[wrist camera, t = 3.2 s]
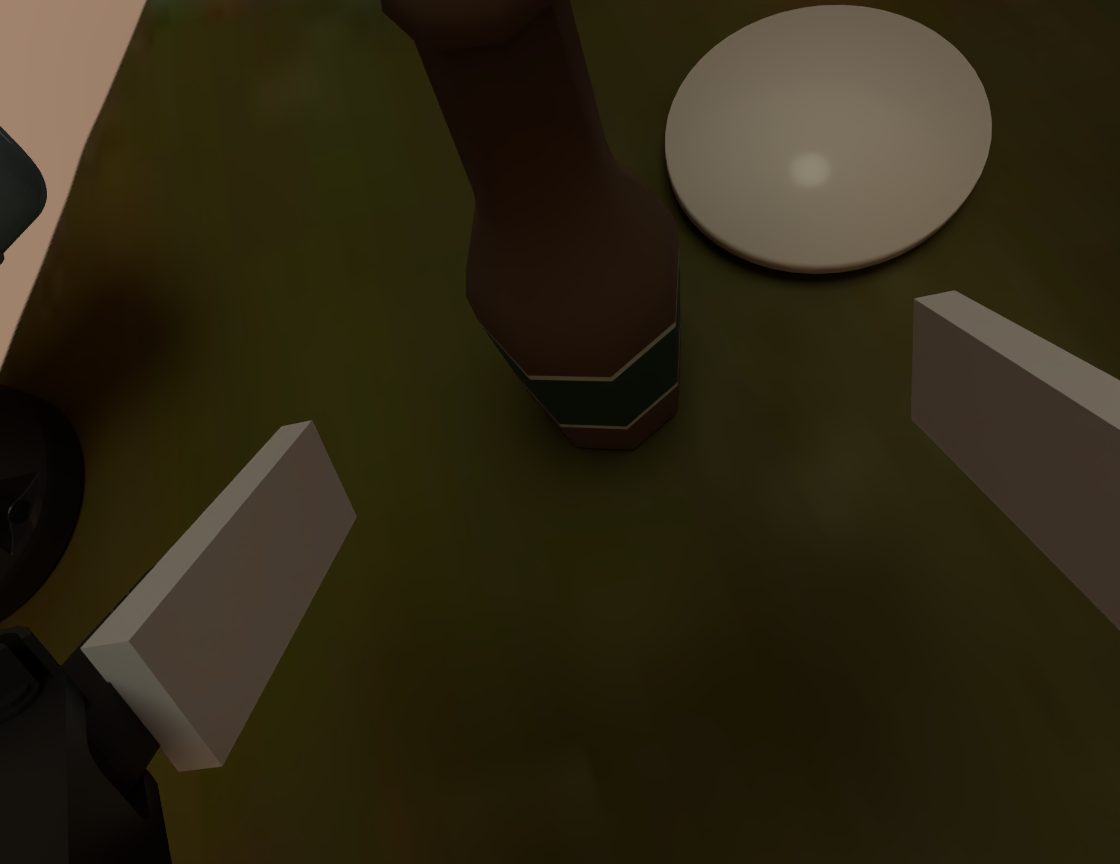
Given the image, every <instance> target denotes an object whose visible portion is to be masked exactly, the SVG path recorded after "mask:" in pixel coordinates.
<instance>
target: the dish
mask: <svg viewBox="0 0 1120 864" xmlns="http://www.w3.org/2000/svg"><path fill="white" fill-rule="evenodd" d="M991 128H992V120H991V113H990V107H989V102H988V99H987V96H986V93H985V90H984V87H983V85H982V83H981V81H980V79H979V77H978V76H977V74H976V72H975V70H974V69H973V68H972V66H971V65H970V64H969V62H968V61H967V60H966V58H965V57H964V56H963V55H962V54H961V53H960V52H959V51H958V50H957V49H956V48H955V47H954V46H953V45H952V44H951V43H949V42H948V41H947V40H945V39H944V38H943V37H941V36H940V35H939V34H937V33H936V32H934V31H933V30H931V29H929V28H927V27H925V26H924V25H922V24H920V23H918V22H916V21H913V20H911V19H908V18H906V17H903V16H901V15H898V14H894V13H891V12H887V11H884V10H879V9H873V8H868V7H862V6H848V5H824V6H814V7H806V8H800V9H795V10H791V11H786V12H782V13H779V14H776V15H773V16H770V17H767V18H764V19H761V20H759V21H757V22H755V23H752V24H750V25H748V26H746V27H744V28H742V29H740V30H739V31H737V32H735V33H733V34H732V35H730V36H729V37H727V38H726V39H724V40H723V41H722V42H720V43H719V44H717V45H716V46H715V47H714V48H712V49H711V50H710V51H709V52H708V53H707V54H706V55H705V56H704V57H703V58H701V60H700V61H699V62H698V63H697V64H696V65H695V66H694V68H693V69H692V70H691V71H690V72H689V74H688V75H687V77H686V78H685V80H684V81H683V83H682V84H681V86H680V88H679V90H678V92H677V94H676V96H675V98H674V100H673V103H672V106H671V109H670V112H669V115H668V120H667V126H666V132H665V152H666V165H667V172H668V177H669V181H670V184H671V187H672V190H673V193H674V195H675V197H676V199H677V201H678V203H679V205H680V207H681V208H682V209H683V211H684V212H685V214H686V215H687V217H688V218H689V219H690V221H691V222H692V223H693V224H694V225H695V226H696V227H697V228H698V229H699V230H700V231H701V232H702V233H703V234H704V235H705V236H706V237H708V238H709V239H710V240H712V241H713V242H714V243H715V244H717V245H718V246H720V247H721V248H723V249H725V250H726V251H728V252H730V253H731V254H733V255H735V256H738V257H740V258H742V259H744V260H747V261H749V262H751V263H754V264H758V265H761V266H764V267H767V268H771V269H776V270H781V271H787V272H792V273H807V274H825V273H840V272H846V271H852V270H858V269H862V268H866V267H869V266H873V265H877V264H880V263H883V262H885V261H888V260H890V259H893V258H895V257H897V256H900V255H902V254H904V253H905V252H907V251H909V250H911V249H913V248H915V247H916V246H918V245H920V244H921V243H923V242H924V241H925V240H927V239H928V238H929V237H931V236H932V235H934V234H935V233H936V232H937V231H938V230H939V229H940V228H942V227H943V226H944V225H945V224H946V223H947V222H948V221H949V220H950V219H951V218H952V217H953V215H954V214H955V213H956V212H957V210H958V209H959V208H960V206H961V205H962V204H963V203H964V201H965V200H966V198H967V197H968V195H969V194H970V192H971V191H972V189H973V187H974V185H975V184H976V182H977V180H978V178H979V177H980V175H981V173H982V170H983V168H984V165H985V162H986V160H987V157H988V153H989V147H990V142H991Z"/></svg>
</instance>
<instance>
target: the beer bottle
mask: <svg viewBox="0 0 1120 864" xmlns="http://www.w3.org/2000/svg"><path fill="white" fill-rule="evenodd" d="M381 5H382V10H383V12H384V13H385V14H386V15H387V16H388V17H389V18H390V19H391V20H392V21H394V22H395V23H396V24H397V25H398V26H399V27H400V28H401V29H402V30H403V31H404V32H406V33H407V34H408V35H409V36H410V37H411V38H412V39H413V40H414V42H415V44H416V47H417V49H418V52H419V54H420V57H421V59H422V62H423V64H424V67H425V70H426V72H427V75H428V77H429V80H430V82H431V85H432V87H433V90H434V92H435V95H436V97H437V100H438V102H439V105H440V108H441V110H442V113H443V115H444V118H445V120H446V123H447V125H448V128H449V130H450V133H451V135H452V138H453V141H454V143H455V146H456V148H457V151H458V153H459V156H460V158H461V161H462V163H463V166H464V168H465V171H466V174H467V176H468V179H469V181H470V184H471V186H472V189H473V191H474V196H475V200H476V205H475V212H474V219H473V226H472V232H471V239H470V246H469V253H468V260H467V267H466V297H467V299H468V301H469V303H470V305H471V307H472V309H473V311H474V313H475V315H476V317H477V319H478V321H479V322H480V324H481V325H482V327H483V328H484V329H485V331H486V332H487V334H488V335H489V337H490V338H491V339H492V341H493V342H494V344H495V345H496V347H497V348H498V349H499V351H500V352H501V354H502V355H503V357H504V358H505V359H506V361H507V362H508V364H509V365H510V367H511V368H512V369H513V371H514V372H515V374H516V375H517V377H518V378H519V379H520V381H521V382H522V384H523V385H524V387H525V388H526V389H527V391H528V392H529V394H530V395H531V396H532V398H533V399H534V400H535V401H536V402H537V404H538V405H539V406H540V407H541V408H542V409H543V410H544V411H545V413H546V414H547V415H548V416H549V417H550V418H551V419H552V420H553V422H554V423H555V424H556V425H557V426H558V427H559V428H560V429H561V431H562V432H563V433H564V434H565V435H566V436H567V437H568V438H569V440H570V441H571V442H572V443H573V444H574V445H575V446H576V447H580V448H603V449H626V450H634V449H635V448H636V447H637V446H639V445H640V444H641V443H642V442H643V441H644V440H645V439H647V438H648V437H649V436H650V435H651V434H652V433H653V432H655V431H656V430H657V429H658V428H659V427H660V426H661V425H663V424H664V423H665V422H666V421H667V420H668V419H670V418H671V417H672V416H673V415H674V414H675V413H676V412H677V407H678V395H679V373H680V351H681V327H680V268H679V242H678V236H677V229H676V223H675V217H674V216H673V215H672V214H671V212H670V211H669V210H668V208H667V207H666V206H665V204H664V203H663V202H662V200H661V199H660V198H659V197H658V195H657V194H656V193H655V192H653V191H652V190H651V189H650V188H649V187H648V186H647V185H645V184H644V183H643V182H642V181H641V180H640V179H638V178H637V177H636V176H635V175H634V174H633V173H631V172H630V171H629V170H628V169H627V168H626V167H625V166H623V165H622V164H621V163H620V162H619V161H618V160H616V159H615V158H614V157H613V155H612V153H611V151H610V148H609V146H608V144H607V142H606V139H605V136H604V132H603V128H602V124H601V120H600V116H599V112H598V109H597V105H596V101H595V97H594V93H593V89H592V85H591V81H590V78H589V74H588V70H587V66H586V62H585V58H584V54H583V51H582V47H581V43H580V39H579V35H578V31H577V27H576V23H575V20H574V16H573V12H572V8H571V4H570V0H381Z"/></svg>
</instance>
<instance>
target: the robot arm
mask: <svg viewBox="0 0 1120 864" xmlns="http://www.w3.org/2000/svg"><path fill="white" fill-rule="evenodd" d="M46 199H47V189H46V185H45V181H44V179H43V177H42V174H41V172H40V170H39V169H38V168H37V166H36V164H35V163H34V162H33V161H32V159H31V158H30V157H29V156H28V155H27V154H26V152H25V151H24V150H23V149H22V148H21V147H20V146H19V145H18V144H17V143H16V142H15V141H14V140H13V139H12V138H11V137H10V136H9V135H8V134H7V132H6V131H5V130H4V129H3V128H1V127H0V264H2V262H3V260H4V252H5V251H6V250H7V249H8V248H9V247H10V246H11V245H12V244H13V242H14V241H15V240H16V239H17V238H18V237H19V236H20V235H21V234H22V233H23V232H24V231H25V230H26V229H27V228H28V227H29V226H30V225H31V224H32V222H33V221H34V220H35V219H36V218H37V217H38V216H39V215H40V213H41V212H42V210H43V208H44V206H45V203H46ZM911 419H912V420H913V421H914V422H915V423H916V424H917V425H918V426H919V427H920V428H921V429H922V430H923V431H924V432H925V433H926V434H927V435H928V436H929V437H930V438H931V439H932V440H933V441H934V442H935V443H936V444H937V445H938V446H939V447H940V448H941V449H942V451H943V452H944V453H945V454H946V455H947V456H948V457H949V458H950V459H951V460H952V461H953V462H954V463H955V464H956V465H957V466H958V467H959V468H960V469H961V470H962V471H963V472H964V473H965V474H966V475H967V476H968V477H969V478H970V479H971V480H972V481H973V482H974V483H975V484H976V485H977V486H978V487H979V488H980V489H981V490H982V491H983V492H984V493H985V494H986V495H987V496H988V497H989V498H990V499H991V500H992V501H993V502H994V503H995V504H996V505H997V506H998V507H999V508H1000V509H1001V510H1002V511H1003V512H1004V513H1005V514H1006V515H1007V516H1008V517H1009V518H1010V519H1011V521H1012V522H1013V523H1014V524H1015V525H1016V526H1017V527H1018V528H1019V529H1020V530H1021V531H1022V532H1023V533H1024V534H1025V535H1026V536H1027V537H1028V538H1029V539H1030V540H1031V541H1032V542H1033V543H1034V544H1035V545H1036V546H1037V547H1038V548H1039V549H1040V550H1041V551H1042V552H1043V553H1044V554H1045V555H1046V556H1047V557H1048V558H1049V559H1050V560H1051V561H1052V562H1053V563H1054V564H1055V565H1056V566H1057V567H1058V568H1059V569H1060V570H1061V571H1062V572H1063V573H1064V574H1065V575H1066V576H1067V577H1068V578H1069V579H1070V580H1071V581H1072V582H1073V583H1074V584H1075V585H1076V586H1077V587H1078V588H1079V589H1080V591H1081V592H1082V593H1083V594H1084V595H1085V596H1086V597H1087V598H1088V599H1089V600H1090V601H1091V602H1092V603H1093V604H1094V605H1095V606H1096V607H1097V608H1098V609H1099V610H1100V611H1101V612H1102V613H1103V614H1104V615H1105V616H1106V617H1107V618H1108V619H1109V620H1110V621H1111V622H1112V623H1113V624H1114V625H1115V626H1116V627H1117V628H1118V629H1119V630H1120V380H1118V379H1116V378H1114V377H1112V376H1110V375H1109V374H1107V373H1105V372H1103V371H1101V370H1099V369H1098V368H1096V367H1094V366H1092V365H1090V364H1088V363H1087V362H1085V361H1083V360H1081V359H1079V358H1077V357H1076V356H1074V355H1072V354H1070V353H1068V352H1066V351H1065V350H1063V349H1061V348H1059V347H1057V346H1055V345H1054V344H1052V343H1050V342H1048V341H1046V340H1044V339H1043V338H1041V337H1039V336H1037V335H1035V334H1033V333H1032V332H1030V331H1028V330H1026V329H1024V328H1022V327H1021V326H1019V325H1017V324H1015V323H1013V322H1011V321H1010V320H1008V319H1006V318H1004V317H1002V316H1000V315H999V314H997V313H995V312H993V311H991V310H989V309H988V308H986V307H984V306H982V305H980V304H979V303H977V302H975V301H973V300H971V299H969V298H968V297H966V296H964V295H962V294H960V293H958V292H957V291H950V292H945V293H940V294H935V295H930V296H925V297H920V298H915V299H914V324H913V363H912V402H911ZM82 480H83V469H82V459H81V453H80V449H79V445H78V442H77V439H76V436H75V434H74V431H73V429H72V428H71V426H70V424H69V422H68V421H67V420H66V418H65V417H64V416H63V415H62V413H61V412H60V411H59V410H58V409H57V408H55V407H54V406H53V405H52V404H50V403H49V402H47V401H45V400H43V399H41V398H39V397H37V396H34V395H31V394H28V393H25V392H22V391H19V390H16V389H13V388H10V387H7V386H4V385H0V620H1V619H2V618H4V617H5V616H7V615H8V614H10V613H11V612H12V611H14V610H15V609H16V608H17V607H18V606H20V605H21V604H22V603H23V602H24V601H25V600H26V599H27V598H28V597H29V596H30V595H31V594H32V593H33V592H34V591H35V590H36V589H37V588H38V587H39V585H40V584H41V583H42V582H43V580H44V579H45V578H46V577H47V575H48V574H49V572H50V571H51V570H52V568H53V566H54V565H55V563H56V562H57V560H58V558H59V557H60V555H61V553H62V551H63V549H64V547H65V545H66V543H67V541H68V539H69V536H70V534H71V531H72V529H73V526H74V523H75V520H76V517H77V513H78V509H79V505H80V499H81V492H82ZM356 517H357V516H356V514H355V512H354V510H353V508H352V506H351V503H350V501H349V499H348V497H347V495H346V493H345V490H344V488H343V486H342V484H341V482H340V480H339V477H338V475H337V473H336V471H335V469H334V467H333V465H332V462H331V460H330V458H329V456H328V454H327V452H326V449H325V447H324V445H323V443H322V441H321V439H320V436H319V434H318V432H317V430H316V428H315V426H314V424H313V421H312V420H311V421H306V422H301V423H296V424H291V425H286V426H282V427H281V428H280V429H279V430H278V431H277V432H276V433H275V434H274V435H273V436H272V438H271V439H270V440H269V441H268V442H267V443H266V444H265V445H264V446H263V447H262V449H261V450H260V451H259V452H258V453H257V454H256V455H255V456H254V457H253V458H252V460H251V461H250V462H249V463H248V464H247V465H246V466H245V467H244V468H243V470H242V471H241V472H240V473H239V474H238V475H237V476H236V477H235V478H234V479H233V481H232V482H231V483H230V484H229V485H228V486H227V487H226V488H225V489H224V490H223V492H222V493H221V494H220V495H219V496H218V497H217V498H216V499H215V500H214V501H213V503H212V504H211V505H210V506H209V507H208V508H207V509H206V510H205V511H204V513H203V514H202V515H201V516H200V517H199V518H198V519H197V520H196V521H195V522H194V524H193V525H192V526H191V527H190V528H189V529H188V530H187V531H186V532H185V533H184V535H183V536H182V537H181V538H180V539H179V540H178V541H177V542H176V543H175V544H174V546H173V547H172V548H171V549H170V550H169V551H168V552H167V553H166V554H165V556H164V557H163V558H162V559H161V560H160V561H159V562H158V563H157V564H156V565H155V566H154V567H152V568H151V569H150V570H148V571H147V572H146V573H145V574H144V576H143V577H142V578H141V579H140V580H139V581H138V582H137V583H136V584H135V585H134V586H133V588H132V589H131V590H130V591H129V595H125V596H124V597H123V599H122V600H121V601H120V602H119V603H118V604H117V605H116V606H115V607H114V612H110V613H109V614H108V615H107V616H106V617H105V618H104V619H103V620H102V622H101V623H100V624H99V625H98V626H97V627H96V628H95V629H94V630H93V631H92V632H91V634H90V635H89V636H88V637H87V638H86V639H85V640H84V641H83V642H82V643H81V645H80V646H79V647H78V648H77V649H76V650H75V651H74V652H73V653H72V654H71V655H70V657H69V658H68V659H67V660H66V661H65V662H64V663H63V664H62V665H61V666H60V665H59V664H58V663H57V662H56V660H55V659H54V658H53V657H52V656H51V654H50V653H49V652H48V651H47V650H46V648H45V647H44V646H43V645H42V644H41V643H40V641H39V640H38V639H37V638H36V637H35V635H34V634H33V633H32V632H31V631H30V629H29V628H28V627H19V626H16V627H12V628H8V629H4V630H0V864H172V862H171V856H170V851H169V845H168V839H167V834H166V828H165V823H164V817H163V812H162V806H161V801H160V795H159V790H158V784H157V783H156V781H155V779H154V778H153V776H152V775H151V774H150V773H149V772H148V770H147V769H146V767H147V766H148V764H149V762H150V761H151V759H152V758H153V756H154V755H155V753H156V752H157V750H158V749H159V747H160V749H161V750H162V751H163V752H164V754H165V755H166V756H167V757H168V759H169V760H170V761H171V762H172V764H173V765H174V766H175V767H176V769H177V770H178V771H179V772H180V771H188V770H196V769H204V768H213V767H221V766H223V764H224V762H225V760H226V759H227V757H228V755H229V753H230V751H231V749H232V747H233V746H234V744H235V742H236V740H237V738H238V736H239V734H240V733H241V731H242V729H243V727H244V725H245V723H246V721H247V720H248V718H249V716H250V714H251V712H252V710H253V708H254V707H255V705H256V703H257V701H258V699H259V697H260V695H261V694H262V692H263V690H264V688H265V686H266V684H267V682H268V681H269V679H270V677H271V675H272V673H273V671H274V669H275V668H276V666H277V664H278V662H279V660H280V658H281V656H282V655H283V653H284V651H285V649H286V647H287V645H288V644H289V642H290V640H291V638H292V636H293V634H294V632H295V631H296V629H297V627H298V625H299V623H300V621H301V619H302V618H303V616H304V614H305V612H306V610H307V608H308V606H309V605H310V603H311V601H312V599H313V597H314V595H315V593H316V592H317V590H318V588H319V586H320V584H321V582H322V580H323V579H324V577H325V575H326V573H327V571H328V569H329V567H330V566H331V564H332V562H333V560H334V558H335V556H336V554H337V553H338V551H339V549H340V547H341V545H342V543H343V541H344V540H345V538H346V536H347V534H348V532H349V530H350V528H351V527H352V525H353V523H354V521H355V519H356Z"/></svg>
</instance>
